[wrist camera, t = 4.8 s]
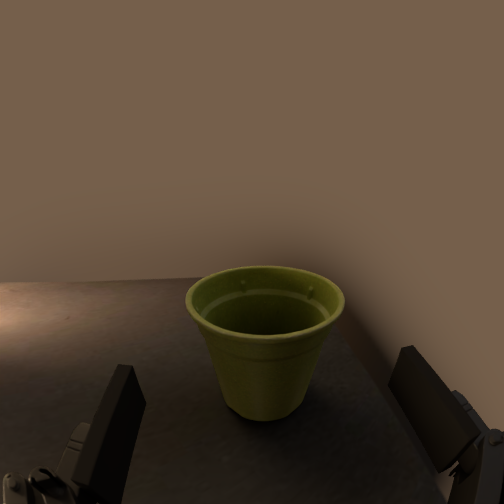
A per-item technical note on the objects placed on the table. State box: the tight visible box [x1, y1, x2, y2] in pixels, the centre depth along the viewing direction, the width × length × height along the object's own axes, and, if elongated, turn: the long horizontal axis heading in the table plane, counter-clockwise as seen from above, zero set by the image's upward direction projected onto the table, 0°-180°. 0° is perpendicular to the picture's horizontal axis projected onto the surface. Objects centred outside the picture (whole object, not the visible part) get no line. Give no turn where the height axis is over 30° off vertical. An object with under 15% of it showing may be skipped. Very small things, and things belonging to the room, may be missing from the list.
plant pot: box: [185, 266, 345, 421], centre depth 18 cm, size 9×9×9 cm
